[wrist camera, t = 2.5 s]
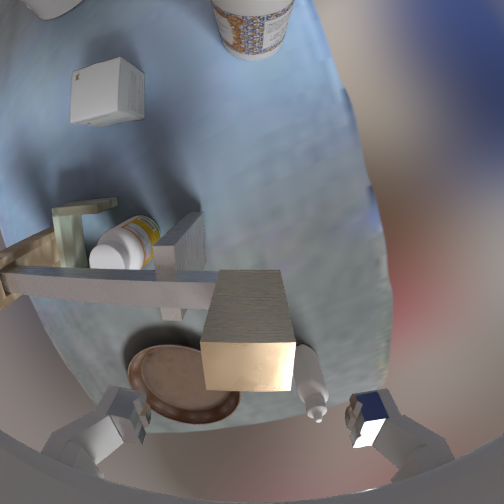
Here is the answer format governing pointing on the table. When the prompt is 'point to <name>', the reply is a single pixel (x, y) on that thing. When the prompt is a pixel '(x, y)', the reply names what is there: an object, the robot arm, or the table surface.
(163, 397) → the plant saucer
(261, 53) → the bath foam
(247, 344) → the rod with square block
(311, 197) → the table surface
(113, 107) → the product box
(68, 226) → the frame
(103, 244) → the supplement bottle
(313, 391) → the eye dropper bottle
